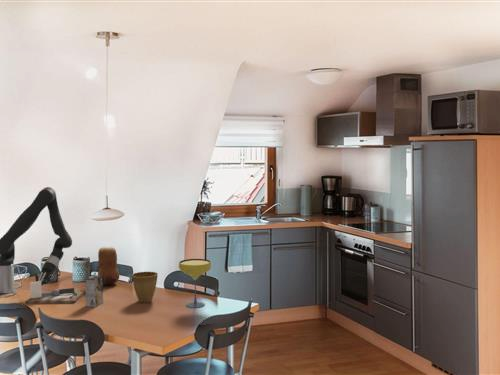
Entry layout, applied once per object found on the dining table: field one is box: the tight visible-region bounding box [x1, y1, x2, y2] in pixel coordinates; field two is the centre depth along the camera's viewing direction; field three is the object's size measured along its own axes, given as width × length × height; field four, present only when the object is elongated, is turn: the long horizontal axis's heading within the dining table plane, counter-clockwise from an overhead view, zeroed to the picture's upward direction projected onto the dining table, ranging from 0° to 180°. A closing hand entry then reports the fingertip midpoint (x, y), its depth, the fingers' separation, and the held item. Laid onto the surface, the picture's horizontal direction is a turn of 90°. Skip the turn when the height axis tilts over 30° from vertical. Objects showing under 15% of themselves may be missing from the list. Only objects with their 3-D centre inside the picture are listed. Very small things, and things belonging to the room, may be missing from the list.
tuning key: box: [29, 280, 75, 298], centre depth 324 cm, size 24×4×9 cm, turn 116°
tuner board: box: [25, 290, 85, 305], centre depth 325 cm, size 28×20×3 cm
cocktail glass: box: [178, 258, 212, 309], centre depth 310 cm, size 18×18×25 cm
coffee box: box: [84, 274, 104, 308], centre depth 312 cm, size 9×6×16 cm
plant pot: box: [131, 271, 159, 303], centre depth 319 cm, size 15×15×16 cm
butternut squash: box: [97, 246, 120, 286], centre depth 357 cm, size 14×13×25 cm
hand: (37, 289), depth 322 cm, fingers closed
